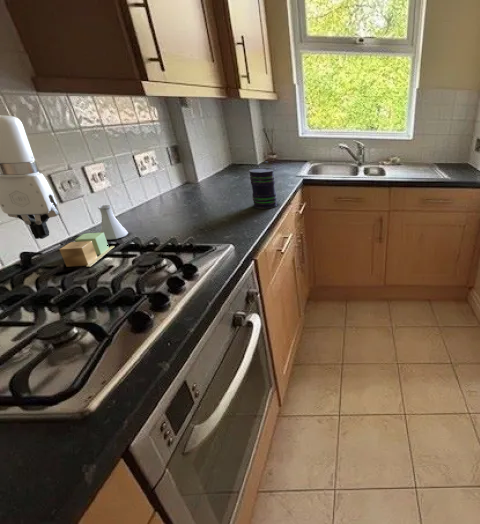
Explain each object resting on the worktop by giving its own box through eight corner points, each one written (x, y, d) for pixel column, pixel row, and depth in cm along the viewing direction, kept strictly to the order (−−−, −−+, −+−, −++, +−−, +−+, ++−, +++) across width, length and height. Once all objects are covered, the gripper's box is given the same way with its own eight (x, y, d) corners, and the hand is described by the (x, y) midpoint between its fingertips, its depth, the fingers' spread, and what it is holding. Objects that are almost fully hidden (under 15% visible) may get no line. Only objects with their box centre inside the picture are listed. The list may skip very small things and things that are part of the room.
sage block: (80, 256, 93) (74, 239, 91) (90, 249, 97) (84, 233, 95) (101, 254, 94) (95, 238, 92) (109, 248, 98) (103, 232, 96)
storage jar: (264, 210, 137) (258, 165, 129) (248, 206, 142) (242, 162, 134) (282, 204, 144) (278, 162, 137) (267, 201, 149) (262, 160, 142)
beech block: (66, 266, 87) (59, 249, 85) (76, 259, 91) (70, 242, 89) (88, 265, 88) (81, 248, 86) (97, 257, 92) (91, 241, 90)
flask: (112, 232, 110) (102, 202, 106) (133, 232, 110) (124, 203, 106) (94, 240, 104) (83, 209, 100) (117, 240, 104) (107, 209, 99)
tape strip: (86, 266, 87) (86, 266, 87) (110, 246, 99) (110, 246, 99) (90, 266, 87) (90, 265, 87) (114, 246, 99) (114, 246, 99)
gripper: (-33, 170, 78) (-2, 242, 86) (43, 172, 81) (66, 241, 89) (-8, 165, 85) (19, 233, 92) (61, 167, 88) (81, 232, 96)
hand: (42, 237), depth 91 cm, fingers closed
